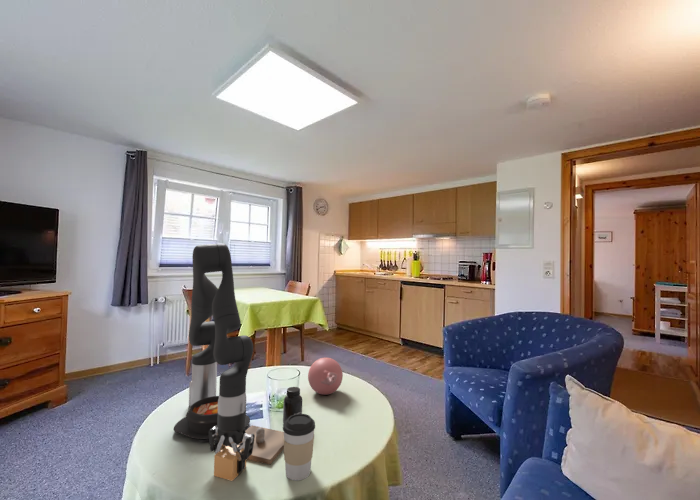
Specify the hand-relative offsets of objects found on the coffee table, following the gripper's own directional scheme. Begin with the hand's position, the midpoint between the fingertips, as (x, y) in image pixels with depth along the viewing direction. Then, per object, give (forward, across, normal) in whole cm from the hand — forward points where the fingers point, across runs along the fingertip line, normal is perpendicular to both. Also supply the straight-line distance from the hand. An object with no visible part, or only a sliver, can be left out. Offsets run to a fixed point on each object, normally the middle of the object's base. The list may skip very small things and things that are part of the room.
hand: (230, 468), depth 87 cm
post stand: (+1, +1, +13) cm, 13 cm away
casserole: (+1, -20, +16) cm, 26 cm away
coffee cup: (+1, +18, +6) cm, 19 cm away
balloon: (+1, +7, +54) cm, 54 cm away
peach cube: (+1, 0, 0) cm, 1 cm away
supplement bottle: (+1, +4, +29) cm, 29 cm away
